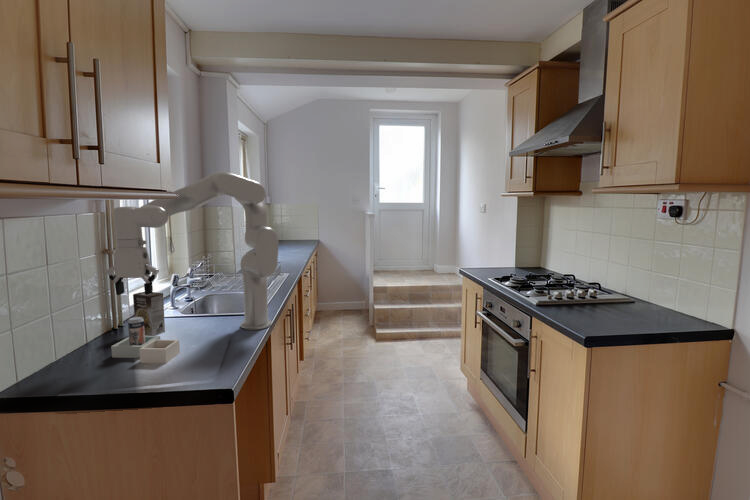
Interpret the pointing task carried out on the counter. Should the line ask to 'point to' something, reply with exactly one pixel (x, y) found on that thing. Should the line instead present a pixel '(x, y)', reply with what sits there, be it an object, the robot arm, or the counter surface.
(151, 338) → the grey tub
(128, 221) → the robot arm
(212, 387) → the counter surface
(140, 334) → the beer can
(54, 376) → the counter surface
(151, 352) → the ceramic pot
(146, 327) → the coffee box
